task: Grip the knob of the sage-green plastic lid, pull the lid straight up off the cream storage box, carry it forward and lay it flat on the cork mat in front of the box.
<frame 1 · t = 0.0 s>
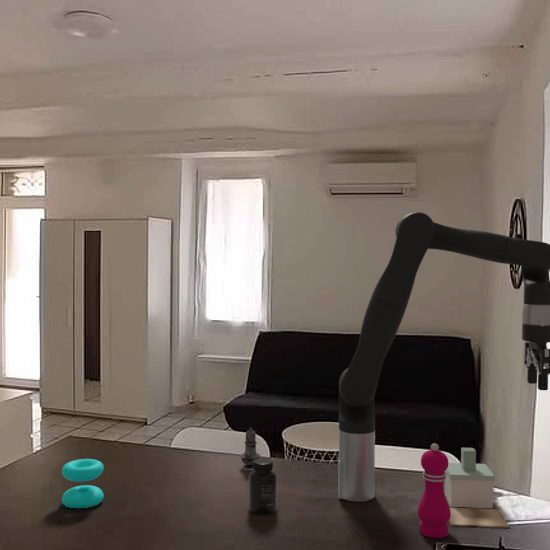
hand: (537, 386, 164), 29 cm above the table, fingers open, 8 cm apart
storage box: (467, 501, 165), on the table
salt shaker: (250, 468, 191), on the table
supplement bottle: (262, 511, 158), on the table
pepper mill: (433, 533, 146), on the table
donuts: (82, 504, 162), on the table
lid: (468, 477, 165), point 6 cm above the table, touching storage box
cork mat: (475, 518, 154), on the table
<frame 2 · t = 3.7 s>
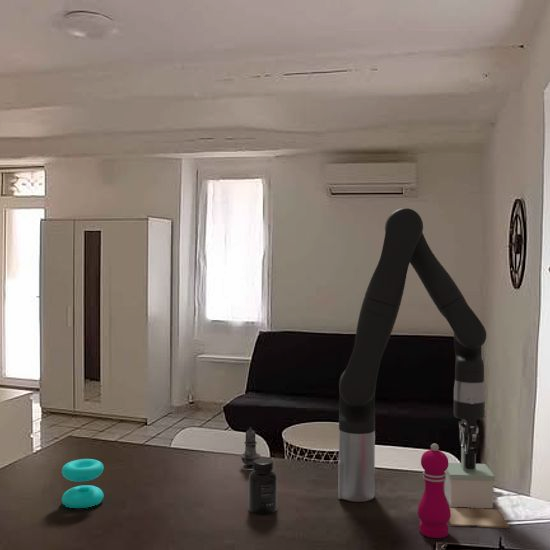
hand: (468, 466, 165), 9 cm above the table, fingers closed on lid, 3 cm apart
lid: (468, 477, 165), point 6 cm above the table, touching gripper, storage box
everything else where it was.
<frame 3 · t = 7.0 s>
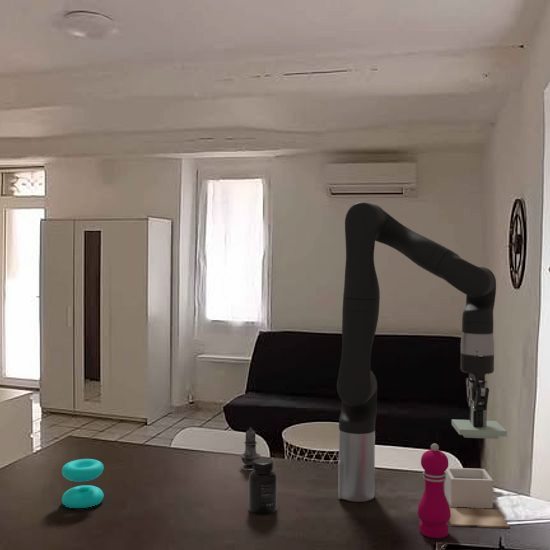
hand: (476, 424, 154), 22 cm above the table, fingers closed on lid, 3 cm apart
lid: (478, 434, 154), point 20 cm above the table, touching gripper
everything else where it was.
when the fingers open (5 cm above the table, at t = 10.7 s): lid drops 2 cm, resting on cork mat.
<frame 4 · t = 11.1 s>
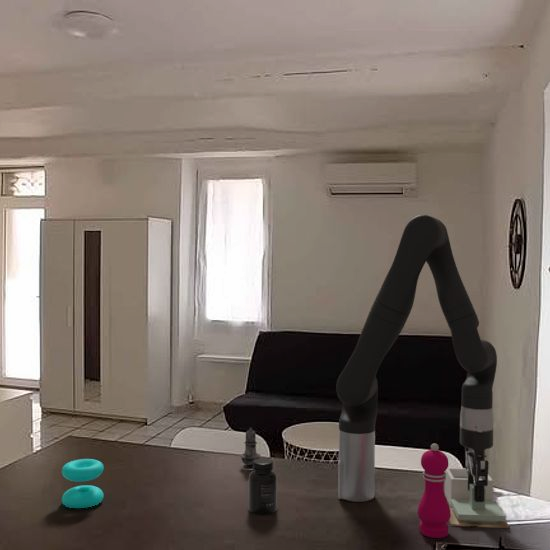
hand: (475, 495, 154), 5 cm above the table, fingers open, 6 cm apart
lid: (477, 516, 154), resting on cork mat
everything else where it was.
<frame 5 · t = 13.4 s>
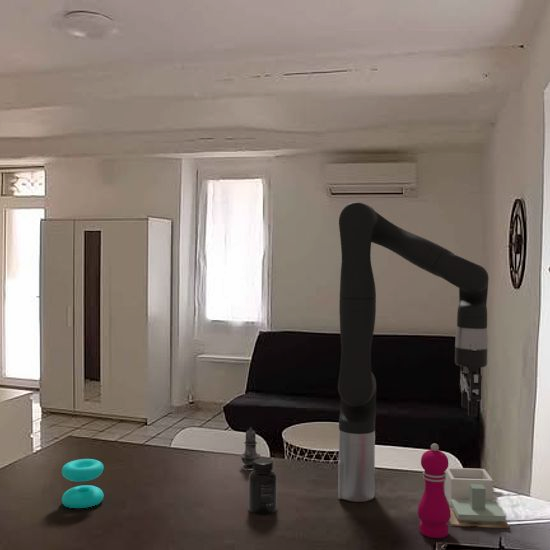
hand: (469, 412, 159), 24 cm above the table, fingers open, 8 cm apart
nothing on the table moved.
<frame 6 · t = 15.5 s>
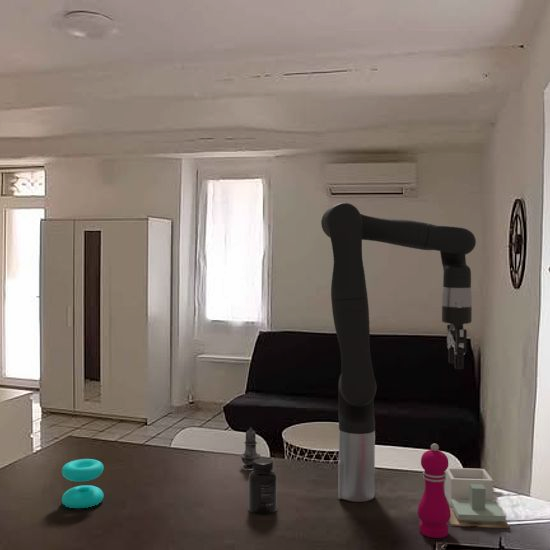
hand: (456, 366, 171), 33 cm above the table, fingers open, 8 cm apart
nothing on the table moved.
at the end: lid inside the target area (0.4 cm from its centre), resting on cork mat; lid tilted 0°; the gripper is holding nothing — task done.
